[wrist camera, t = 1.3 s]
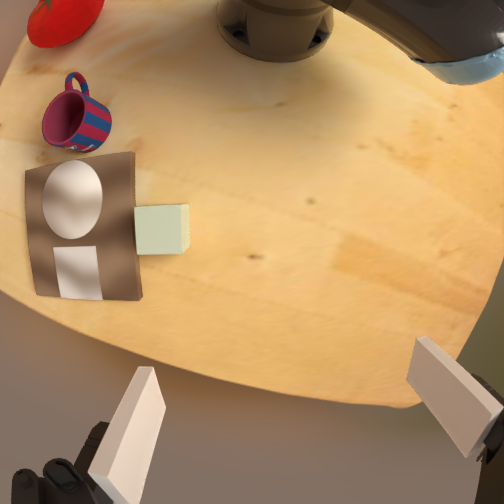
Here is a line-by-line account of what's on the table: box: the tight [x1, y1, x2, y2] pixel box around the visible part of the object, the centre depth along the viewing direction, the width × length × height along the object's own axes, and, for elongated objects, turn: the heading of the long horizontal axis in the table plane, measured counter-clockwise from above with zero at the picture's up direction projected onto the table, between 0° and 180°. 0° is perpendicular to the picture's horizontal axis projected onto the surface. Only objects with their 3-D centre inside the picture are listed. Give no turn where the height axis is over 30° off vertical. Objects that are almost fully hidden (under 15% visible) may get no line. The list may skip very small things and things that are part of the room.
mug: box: [42, 72, 112, 152], centre depth 26 cm, size 7×10×7 cm
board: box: [25, 152, 143, 301], centre depth 31 cm, size 18×18×2 cm
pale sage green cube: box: [134, 203, 190, 255], centre depth 30 cm, size 5×5×5 cm
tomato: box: [27, 0, 104, 48], centre depth 20 cm, size 11×13×10 cm
